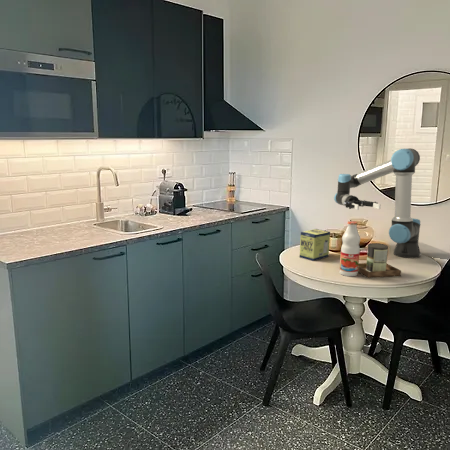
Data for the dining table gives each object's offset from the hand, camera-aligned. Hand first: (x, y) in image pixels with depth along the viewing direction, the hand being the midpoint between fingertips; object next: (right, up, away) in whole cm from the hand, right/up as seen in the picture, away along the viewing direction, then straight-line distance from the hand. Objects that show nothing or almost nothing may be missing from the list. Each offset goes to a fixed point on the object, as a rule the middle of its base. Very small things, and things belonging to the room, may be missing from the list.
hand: (369, 207), depth 255 cm
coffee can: (-1, -35, -13) cm, 37 cm away
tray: (-1, -35, -13) cm, 38 cm away
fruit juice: (-16, -36, -17) cm, 43 cm away
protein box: (-28, -29, +15) cm, 43 cm away
